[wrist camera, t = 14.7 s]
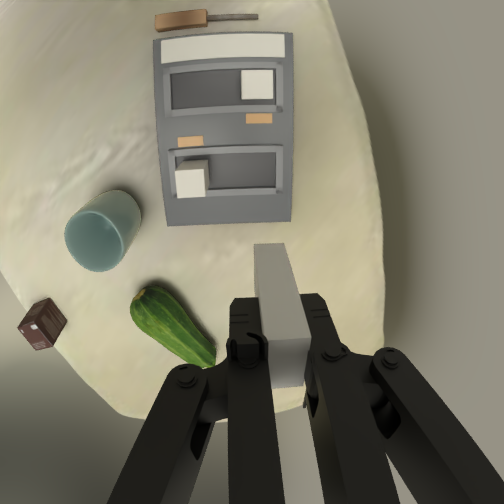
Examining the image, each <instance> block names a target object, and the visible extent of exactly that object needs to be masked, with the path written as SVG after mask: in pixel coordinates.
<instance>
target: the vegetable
mask: <svg viewBox="0 0 504 504" xmlns="http://www.w3.org/2000/svg"><path fill="white" fill-rule="evenodd" d="M130 314H131V317H132V319H133V321H134V322H135V324H136V325H137V326H138V327H139V328H140V329H141V330H142V331H143V332H145V333H146V334H147V335H149V336H150V337H152V338H153V339H155V340H156V341H158V342H159V343H160V344H162V345H163V346H164V347H165V348H167V349H168V350H170V351H171V352H172V353H174V354H175V355H177V356H179V357H180V358H182V359H183V360H185V361H186V362H188V363H189V364H195V365H197V366H200V367H201V368H204V367H208V368H210V367H213V366H215V363H216V349H215V347H214V346H213V345H212V344H211V343H210V342H209V341H208V340H207V339H206V338H205V337H204V336H203V335H202V334H201V333H200V331H199V330H198V329H197V328H196V327H195V325H194V324H193V323H192V321H191V320H190V318H189V317H188V315H187V314H186V312H185V311H184V309H183V308H182V307H181V305H180V304H179V303H178V301H177V300H176V299H175V298H174V297H173V296H172V295H171V294H170V293H169V292H168V291H166V290H165V289H163V288H161V287H159V286H148V287H146V288H144V289H142V290H141V291H140V292H139V293H138V294H137V295H136V296H135V297H134V298H133V300H132V303H131V305H130Z"/></svg>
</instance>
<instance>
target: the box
mask: <svg viewBox="0 0 504 504" xmlns="http://www.w3.org/2000/svg"><path fill="white" fill-rule="evenodd" d="M66 323H67V320H66V318H65V317H64V316H63V314H62V313H61V312H60V311H59V309H58V308H57V307H56V305H55V304H54V302H53V301H52V299H51V298H48V299H46V300H43V301H41V302H38V303H36V304H33V306H32V307H31V309H30V310H29V311H28V313H27V314H26V316H25V317H24V318H23V320H22V321H21V323H20V325H19V326H18V330H19V331H20V332H21V333H22V334H23V336H24V337H25V338H26V339H27V341H28V342H29V343H30V344H31V345H32V347H33V348H34V349H35V350H41V349H45V348H49V347H53V345H54V344H55V342H56V340H57V338H58V337H59V335H60V333H61V331H62V330H63V328H64V326H65V325H66Z"/></svg>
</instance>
